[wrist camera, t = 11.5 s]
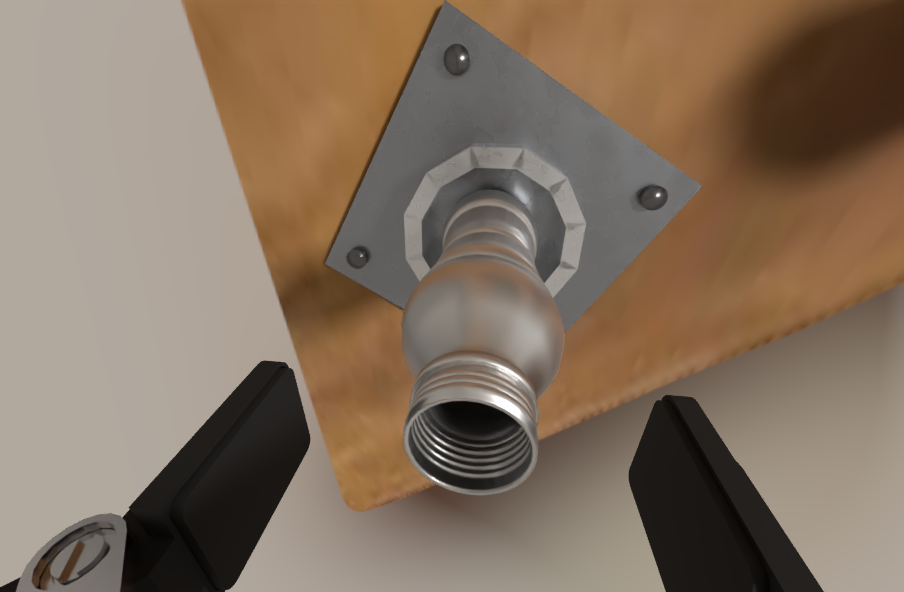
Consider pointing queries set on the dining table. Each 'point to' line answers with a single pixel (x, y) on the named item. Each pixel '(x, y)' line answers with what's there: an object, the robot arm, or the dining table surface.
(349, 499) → the dining table surface
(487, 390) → the plastic bottle
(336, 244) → the duct flange
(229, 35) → the dining table surface
